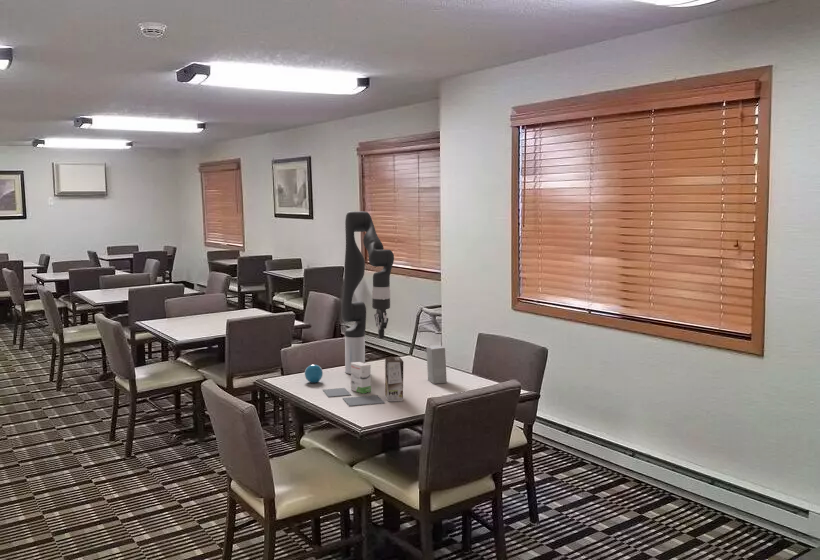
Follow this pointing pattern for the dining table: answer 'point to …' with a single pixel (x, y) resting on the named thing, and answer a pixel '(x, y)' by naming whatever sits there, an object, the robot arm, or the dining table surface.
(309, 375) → the ball
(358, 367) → the ink box
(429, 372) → the skincare box
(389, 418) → the dining table surface
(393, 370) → the coffee box
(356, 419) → the dining table surface
